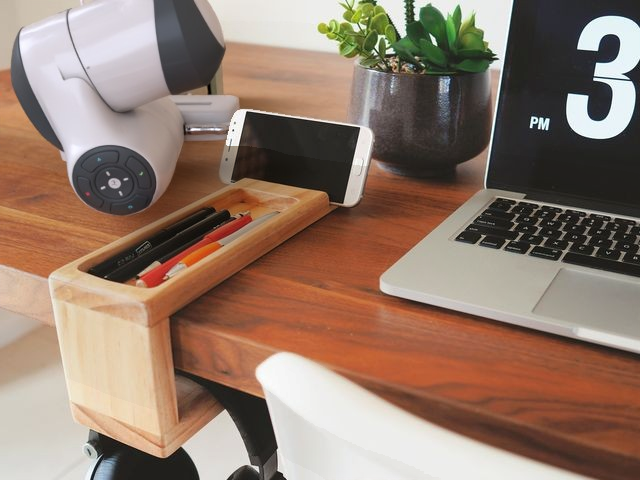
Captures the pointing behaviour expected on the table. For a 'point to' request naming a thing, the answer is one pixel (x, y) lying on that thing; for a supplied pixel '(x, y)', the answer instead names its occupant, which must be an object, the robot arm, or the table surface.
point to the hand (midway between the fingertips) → (157, 99)
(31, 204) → the table surface
